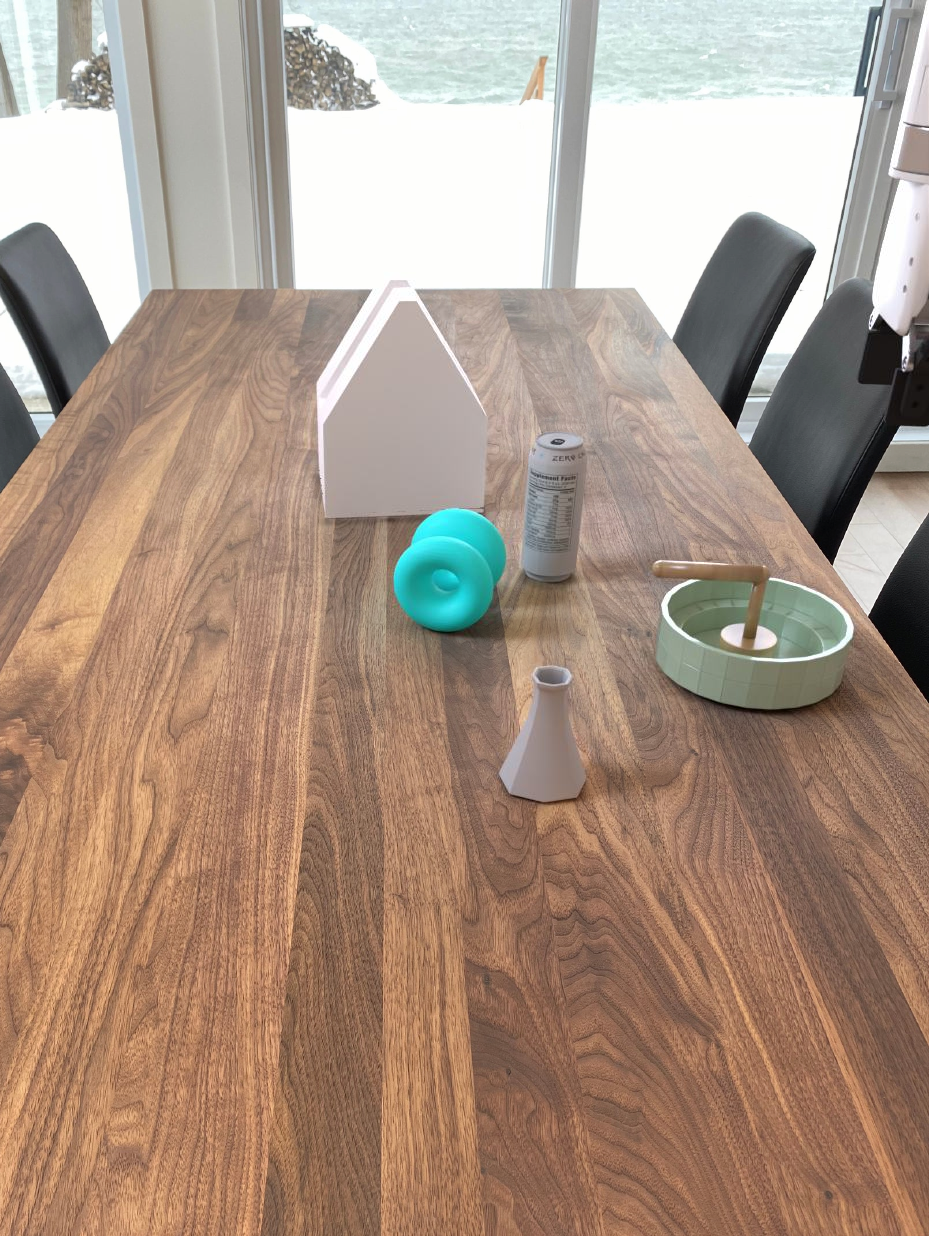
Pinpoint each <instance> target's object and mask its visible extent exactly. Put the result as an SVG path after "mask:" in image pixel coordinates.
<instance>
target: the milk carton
mask: <svg viewBox="0 0 929 1236" xmlns="http://www.w3.org/2000/svg"><path fill="white" fill-rule="evenodd" d="M316 412H317V415H316V416H317V443H318V444H317V445H318V447H317V448H318V449H317V450H318V471H319V470H320V471H319V472H318V474H319V481H320V488H321V496H322V503H323V510H324V518H325V519H344V518H346V519H347V518H370V517H371V518H373V517H375V518H376V517H399V516H401V517H402V516H426V515H432V514H434V513H436V512H439V511H442V510H435V509H449V508H450V509H452V508H480V507H484V509H485V506H484V505H485V491H486V470H487V453H488V438H489V436H488V434H489V417H488V415H487V413H486V411H485V410H484V407H483V405H482V403H481V401H480V399H479V397H478V395H477V393H476V391H475V388H474V387H473V385H472V383H471V381H470V379H469V378H468V376H467V374H466V373H465V371H464V369H463V367H462V365H461V364H460V362H459V361H458V359H457V357H456V356H455V354H454V352H453V350H452V349H451V347H450V346H449V344H448V343H447V341H446V339H445V338H444V336H443V334H442V333H441V330H440V329H439V328H438V326H437V324H436V323H435V321H434V319H433V318H432V316H431V314H430V312H429V311H428V309H427V308H426V307H425V305H424V303H423V301H422V300H421V297H420V296H419V295H418V293H417V291H416V290H415V287H414V286H413V284H412V283H411V281H410V280H409V278H408V277H407V275H406V273H405V272H404V269H403V268H402V267H392V268H391V267H387V268H385V269H384V270H383V272H382V273H381V275H380V277H379V278H378V280H377V281H376V284H375V285H374V287H373V288H372V290H371V292H370V293H369V295H368V297H367V298H366V300H365V302H364V303H363V305H362V306H361V308H360V310H359V312H358V313H357V315H356V317H355V318H354V320H353V322H352V324H351V325H350V327H349V328H348V329H347V331H346V333H345V335H344V336H343V339H342V340H341V342H340V343H339V345H338V347H337V348H336V350H335V352H334V353H333V354H332V356H331V358H330V360H329V361H328V363H327V364H326V367H325V368H324V370H323V372H321V375H320V377H319V378H318V380H317V381H316ZM320 478H321V479H320ZM321 485H322V486H321ZM322 493H323V494H322ZM484 509H466V510H470V511H473V512H476V513H478V514H480V513H484ZM420 510H432V511H420ZM392 511H393V512H392ZM397 511H406V512H397ZM367 512H379V513H367ZM347 513H353V514H347Z"/></svg>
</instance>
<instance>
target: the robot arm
mask: <svg viewBox="0 0 929 1236" xmlns="http://www.w3.org/2000/svg"><path fill="white" fill-rule="evenodd" d="M921 21H922V22H921V27H920V30H919V34H918V35H919V36H918V39H917V44H916V49H915V54H914V57H913V63H912V67H911V71H910V76H909V80H908V85H907V89H906V92H905V93H906V94H905V98H904V102H903V107H902V111H901V116H900V121H899V126H898V130H897V134H896V139H895V143H894V149H893V152H892V157H891V162H890V166H889V169H888V176H890V177H891V178H893V179H896V180H899V182H898V186H897V190H896V192H895V195H894V198H893V203H892V206H891V211H890V215H889V219H888V223H887V226H886V230H885V233H884V238H883V241H882V245H881V250H880V254H879V258H878V263H877V267H876V272H875V277H874V283H873V289H872V297H871V298H872V304H873V307H874V308H873V310H872V313H871V314H870V317H869V321H868V322H869V323H868V329H869V330H867V331H866V335H865V339H864V343H863V346H862V347H863V348H862V353H861V357H860V360H859V365H858V369H857V375H856V381H857V382H858V383H859V384H861V385H877V386H891V387H890V391H889V395H888V399H887V403H886V408H885V411H884V416H883V421H884V423H885V425H886V426H891V427H917V428H918V427H919V428H926V427H929V0H926V2H925V8H924V12H923V15H922V20H921ZM917 341H922V342H920V343H919V346H918V347H917ZM916 347H917V348H916Z"/></svg>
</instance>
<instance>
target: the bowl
mask: <svg viewBox="0 0 929 1236" xmlns="http://www.w3.org/2000/svg"><path fill="white" fill-rule="evenodd" d="M752 585H753V583H745V582H727V581H708V580H690V579H688V580H686V581H684V582H681V583H679V584H677V585H675V586H674V587H673V588H671V589H670V590H669V591H667V592H666V594H665V596H664V598H663V599H662V602H661V604H660V610H659V617H658V623H657V629H656V636H655V642H654V648H653V649H654V656H655V661H656V663H657V664H658V666H659V668H660V669H661V671H662V672H663V674H665V676H667V677H669V678H670V679H671V680H672V681H673V682H674V683H676V684H677V685H678V686H680V687H682V688H684V689H686V690H687V691H689V692H691V693H693V694H695V695H698V696H701V697H703V698H706V699H709V700H712V701H715V702H717V703H722V704H725V705H731V706H735V707H741V708H747V709H760V710H782V709H783V710H784V709H796V708H800V707H804V706H805V707H806V706H809V705H812V704H816V703H818V702H820V701H822V700H824V699H826V698H827V697H829V696H831V695H832V694H834V692H835V691H836V690H837V689H838V687H839V686H840V685H841V684H842V680H843V676H844V673H845V669H846V664H847V661H848V657H849V653H850V650H851V646H852V642H853V638H854V632H855V625H854V622H853V621H852V618H851V616H850V614H849V613H848V612H847V611H846V610H845V609H844V608H843V607H842V605H841V604H839V603H838V602H836V601H835V600H833V599H831V598H830V597H828V596H827V595H825V594H824V593H821V592H818V591H817V590H814V589H813V588H810V587H807V586H805V585H802V584H799V583H795V582H793V581H788V580H784V579H781V578H774V577H770V579H769V580H768V581H767V584H766V589H765V594H764V599H763V604H762V609H761V614H760V618H759V623H758V626H761V627H764V628H766V629H768V630H770V631H772V632H773V633H774V634H775V635H776V637H777V640H778V641H777V646H776V651H775V656H774V659H772V658H756V657H751V656H745V655H740V654H734V653H730V652H727V651H724V650H721V649H718V644H719V639H720V634H721V631H722V629H723V628H725V627H726V626H729V625H732V624H739V623H745V620H746V615H747V610H748V605H749V600H750V595H751V590H752Z"/></svg>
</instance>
